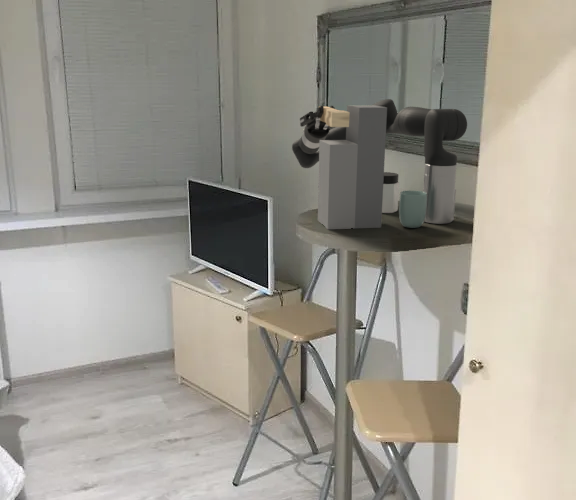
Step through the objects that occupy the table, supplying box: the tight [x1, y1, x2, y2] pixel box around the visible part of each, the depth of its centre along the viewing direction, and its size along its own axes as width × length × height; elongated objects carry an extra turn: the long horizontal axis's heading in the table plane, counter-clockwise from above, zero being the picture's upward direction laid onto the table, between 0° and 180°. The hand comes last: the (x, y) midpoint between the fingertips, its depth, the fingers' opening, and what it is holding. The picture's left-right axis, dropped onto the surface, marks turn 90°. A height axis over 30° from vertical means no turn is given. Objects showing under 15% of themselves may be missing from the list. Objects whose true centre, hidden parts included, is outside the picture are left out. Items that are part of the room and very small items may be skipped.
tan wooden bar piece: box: [318, 105, 350, 128], centre depth 189 cm, size 21×5×4 cm, turn 11°
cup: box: [398, 190, 427, 229], centre depth 189 cm, size 8×8×10 cm
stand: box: [317, 104, 387, 230], centre depth 188 cm, size 12×16×34 cm
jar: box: [382, 171, 400, 214], centre depth 210 cm, size 9×8×12 cm
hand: (327, 108), depth 193 cm, fingers closed on tan wooden bar piece, 2 cm apart
